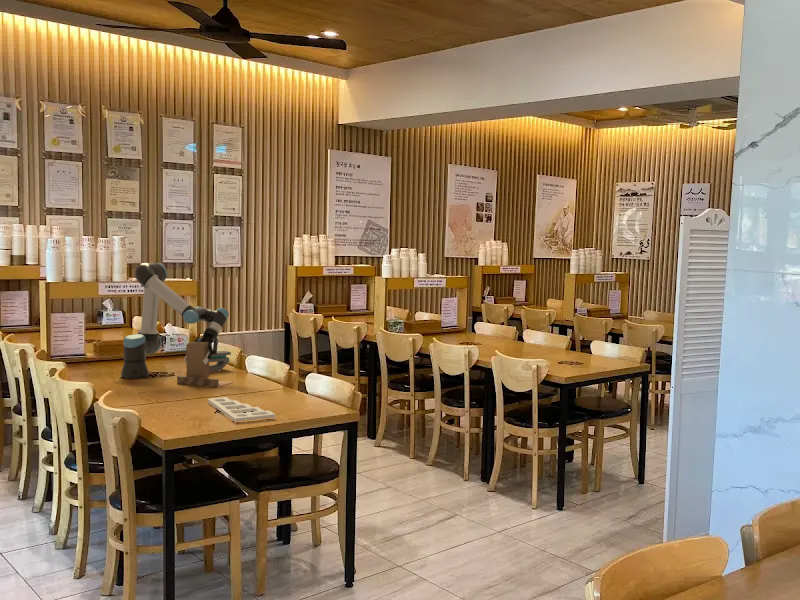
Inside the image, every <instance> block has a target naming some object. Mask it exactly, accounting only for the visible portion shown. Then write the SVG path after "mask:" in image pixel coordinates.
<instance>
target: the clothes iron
mask: <svg viewBox="0 0 800 600" xmlns="http://www.w3.org/2000/svg"><path fill="white" fill-rule="evenodd" d="M209 353H210V352H209ZM231 355H232V352H231V351H228V350H217V354H213V355H212V357H211V358H210V359H209V363H215V362H216V363H215V364H209V373H212V372H211V371H216V372H220V371H219V370H221V371H222V370H223V369H224V368H225V367H226V366H227V364H228V363H229V362H230V357H228V356H231Z"/></svg>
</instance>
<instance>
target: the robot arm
mask: <svg viewBox="0 0 800 600" xmlns="http://www.w3.org/2000/svg"><path fill="white" fill-rule="evenodd" d="M167 277H168V271H167V268H166V266H164V265H163V264H162V263H161V262H143V263H142V262H141V263H140V264H138V265H137V266H136V268H135V269H134V278H135V279H136V281H137V283H139V284H140V285H141V286H142V287H143V301H142V302H143V303H142V312H141V325H140V326H141V327H140V329H138V331H137V334H130V335H126V336H125V337H124V338H123V343H122V344H123V365H122V370H121V372H120V378H122V377H125V378H124V379H130V378H132V379H143V378H142V377H144V378H147V377H150V371H149V370H148V366H147V363H146V359H147V357H146V356H148V355H149V356H150V355H153V354H155V353H157V352H158V351H159V350H160V349H161V347H162V339H161V337H160V332H159V330H157V327H158V316H159V314H158V313H159V304H160V303H159V302H160V299H161V300H162V301H163V302H165V304H166V305H168V306H169V307H171V308H172V309H173V310H174V311H176V313H178V314H179V315H180V316H181V317H182V318H183V321H184V323H186V324H188V325H189V324H191V325H192V324H195V323H201V322H204V323H205V322H206V323H208V324H207V327H206V329H205V330H204V332H203V335H202V337H199V336H197V337H196V338H195V340H193V341H192V342H209V345H208V347H209V352H210V353H209V352H208V353H207V355H206V357H205V358H204V360H203V363H204V364H205V365H206V364H207V362H208V360H209V359H210V358H211V357H212V355H213V354H217V351H218V344H219V342H220V340H219V339H218V336H219V335H220V332H221V331H222V328H223V327H224V325H225V323H226V322H227V320H228V319H229V315H230V314H229V313H230V312H229V311H228V309H226V308H223V307H217V309H216V310H214V309H210V308H206V307H203V306H195V307H193V306H192V305H191V304H190V303H189V302H187V301H186V300H185V299H184V298H182V297H181V296H180V295H179V294H178V293H176V291H174V290H173V289H171V288H170V287H169V285H167V284H165V283H164V281H165V280H166V279H167ZM183 361H184V362H185V363H186V356H184V359H183Z"/></svg>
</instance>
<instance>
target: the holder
mask: <svg viewBox="0 0 800 600" xmlns="http://www.w3.org/2000/svg"><path fill="white" fill-rule="evenodd" d="M208 403H210V404H211V405H212V406H214V407H215V408H217V409H218V410H219V411H221V412H222V413H224V414H225V415H227V416H228V417H229V418H231V419H232V420H233V421H245V420H255V419H264V418H265V419H266V418H275V419H276V413H274V412H272V411H270V410H269V409H267V410H264V409H262V408H260V407H259V406H251V405H250V404H249V403H242V402H240V401H239V400H237V399H236V400H233V399H230V398H228V397H226V396H224V397H213V398H212V397H211V398H207V404H208ZM211 405H210V406H211ZM212 406H211V407H212ZM215 408H214V409H215ZM237 408H239V409H237ZM219 411H218V412H219ZM251 411H253V412H251ZM243 412H246V413H243ZM234 413H236V414H234Z"/></svg>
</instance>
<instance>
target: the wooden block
mask: <svg viewBox="0 0 800 600" xmlns="http://www.w3.org/2000/svg"><path fill="white" fill-rule="evenodd" d="M208 345H209V342H193V341H192V342H188V343H187V344H186V347H185V357H186V362H185V364H186V376H190V377H200V378H210V372H209V365H210V362H209V360H208V362H207V364H206V365H205V364H204V363H203V360H204V358H205V357H206V355H207V353H208V352H209V347H208Z"/></svg>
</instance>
